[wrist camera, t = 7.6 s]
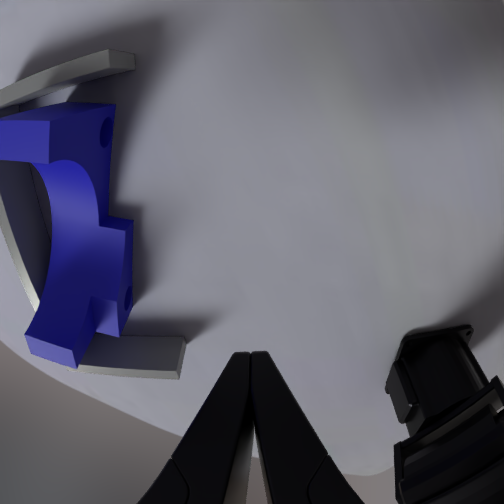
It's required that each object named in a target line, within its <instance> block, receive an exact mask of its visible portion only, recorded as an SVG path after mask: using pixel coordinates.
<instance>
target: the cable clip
mask: <svg viewBox="0 0 504 504" xmlns="http://www.w3.org/2000/svg"><path fill="white" fill-rule="evenodd" d="M115 108H116V104H102V103H80V102H64V103H59V104H54V105H49V106H45V107H41V108H36V109H32V110H28V111H24V112H20V113H17V114H13V115H9V116H6V117H2V118H0V160H10V161H21V162H31V163H32V164H33V165H34V166H35V168H36V169H37V170H38V171H39V173H40V175H41V176H42V179H43V181H44V183H45V186H46V189H47V192H48V196H49V201H50V206H51V215H52V246H51V256H50V263H49V269H48V274H47V279H46V283H45V287H44V291H43V294H42V297H41V300H40V303H39V306H38V308H37V311H36V313H35V316H34V318H33V320H32V322H31V324H30V326H29V328H28V329H27V331H26V332H25V334H24V335H25V338H26V341H27V344H28V347H29V349H30V352H31V354H33V355H36V356H39V357H41V358H44V359H47V360H50V361H53V362H56V363H59V364H62V365H65V366H68V367H71V368H74V369H77V368H78V366H79V364H80V362H81V360H82V358H83V356H84V354H85V352H86V350H87V348H88V346H89V344H90V342H91V340H92V338H93V336H94V334H95V332H99V333H103V334H107V335H111V336H115V337H120V334H121V332H122V330H123V328H124V325H125V323H126V321H127V319H128V316H129V314H130V312H131V310H132V307H133V297H132V256H133V223H134V220H129V219H123V218H118V217H112V216H108V211H109V180H110V162H111V148H112V136H113V126H114V117H115Z"/></svg>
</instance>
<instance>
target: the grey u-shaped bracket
mask: <svg viewBox="0 0 504 504" xmlns="http://www.w3.org/2000/svg"><path fill="white" fill-rule="evenodd" d="M130 70H135V58H134V54H132V53H127V52H122V51H117V50H111V49H107V50H103V51H99V52H96V53H93V54H89V55H86V56H83V57H80V58H77V59H74V60H71V61H68V62H65V63H62V64H60V65H57V66H54V67H52V68H49V69H46V70H44V71H41V72H39V73H36V74H34V75H32V76H29V77H27V78H25V79H22V80H20V81H18V82H16V83H13V84H11V85H9V86H7V87H5V88H3V89H1V90H0V118H2V117H6V116H9V115H13V114H17V113H20V110H19V105H20V104H22V103H25V102H27V101H30V100H33V99H35V98H38V97H41V96H43V95H46V94H49V93H52V92H55V91H58V90H61V89H64V88H67V87H70V86H73V85H77V84H80V83H83V82H87V81H90V80H94V79H98V78H101V77H105V76H109V75H113V74H117V73H121V72H126V71H130ZM0 226H1V229H2V232H3V235H4V238H5V241H6V244H7V246H8V249H9V252H10V254H11V257H12V260H13V262H14V265H15V267H16V270H17V272H18V274H19V277H20V279H21V281H22V284H23V286H24V288H25V291H26V293H27V295H28V297H29V299H30V301H31V304H32V306H33V308H34V310H35V312H36V311H37V308H38V306H39V303H40V300H41V297H42V294H43V291H44V287H45V283H46V279H47V274H48V269H49V263H50V256H51V246H52V245H51V242H50V239H49V236H48V233H47V230H46V227H45V223H44V220H43V217H42V213H41V210H40V206H39V203H38V199H37V195H36V191H35V187H34V183H33V179H32V175H31V171H30V166H29V162H21V161H10V160H0ZM185 349H186V342H185V338H184V337H166V336H120V337H115V336H111V335H96V334H94V336H93V338H92V340H91V342H90V344H89V346H88V348H87V350H86V352H85V354H84V356H83V358H82V360H81V362H80V364H79V366H78V368H77V369H74V368H71V367H68V366H65V367H66V368H67V370H68V371H75V372H83V373H91V374H101V375H111V376H123V377H137V378H154V379H179V378H180V373H181V368H182V364H183V359H184V354H185Z"/></svg>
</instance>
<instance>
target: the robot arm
mask: <svg viewBox="0 0 504 504" xmlns="http://www.w3.org/2000/svg"><path fill="white" fill-rule="evenodd" d="M473 331H474V330H473V328H472V326H471V325H466V326H461V327H456V328H450V329H445V330H439V331H434V332H428V333H422V334H416V335H409V336H406V337H405V338H403V339H402V341H401V344H400V347H399V350H398V353H397V356H396V359H395V361H394V363H393V365H392V367H391V370H390V373H389V376H388V378H387V381H386V386H385V391H386V393H387V394H390V397H391V400H392V403H393V406H394V409H395V412H396V415H397V418H398V421H399V422H400V423H401V424H404V423H406V426H407V429H408V432H409V436H410V437H409V438H408V439H406V440H404V441H402V442H401V441H400V442H398V443H396V444H395V445H394V467H395V497H396V500H397V502H398V504H504V409H503V410H501V411H500V412H499V413H497V410H498V409H500V408H501V407H502V406H504V385H503V383H502V382H501V380H500V379H499V377H498V376H497V375H496V376H495V377H494V378H493V379H491V382H490V383H489V381H488V379H487V378H486V376H485V374H484V372H483V371H482V369H481V367H480V365H479V364H478V362H477V360H476V358H475V357H474V355H473V353H472V352H471V350H470V348H469V347H468V342H469V340H470V338H471V336H472V334H473ZM254 427H255V435H256V441H257V447H258V453H259V459H260V464H261V469H262V475H263V481H264V486H265V492H266V497H267V503H268V504H365V503H364V502H363V501H362V500H361V499H360V497H359V496H358V495H357V494H356V492H355V491H354V490H353V489H352V488H351V486H350V485H349V484H348V482H347V481H346V479H345V478H344V476H343V475H342V474H341V472H340V471H339V469H338V468H337V466H336V465H335V463H334V461H333V460H332V458H331V457H330V455H328V452H327V450H326V449H325V447H324V445H323V444H322V442H321V441H320V439H319V437H318V436H317V434H316V432H315V431H314V429H313V427H312V426H311V424H310V422H309V421H308V419H307V417H306V416H305V414H304V412H303V411H302V409H301V407H300V406H299V404H298V402H297V401H296V399H295V397H294V396H293V394H292V392H291V391H290V389H289V387H288V385H287V384H286V382H285V380H284V379H283V377H282V375H281V373H280V372H279V370H278V368H277V367H276V365H275V363H274V361H273V360H272V358H271V356H270V354H269V353H268V352H267V351H253V352H252V353H251V354H250V352H235V353H233V355H232V356H231V358H230V360H229V361H228V363H227V365H226V367H225V368H224V370H223V372H222V373H221V375H220V377H219V378H218V380H217V382H216V383H215V385H214V387H213V388H212V390H211V392H210V393H209V395H208V397H207V398H206V400H205V402H204V403H203V405H202V407H201V408H200V410H199V412H198V413H197V415H196V417H195V418H194V420H193V422H192V423H191V425H190V426H189V428H188V430H187V431H186V433H185V435H184V436H183V438H182V440H181V441H180V443H179V444H178V446H177V448H176V449H175V451H174V452H173V454H172V455H171V458H172V459H169V460H168V461H167V463H166V465H165V466H164V468H163V469H162V471H161V473H160V474H159V475H158V477H157V478H156V480H155V481H154V483H153V484H152V485H151V487H150V488H149V489H148V491H147V492H146V493H145V494H144V495H143V497H142V498H141V499H140V500H139V501H138V503H137V504H246V497H247V489H248V481H249V472H250V464H251V456H252V447H253V439H254Z"/></svg>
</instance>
